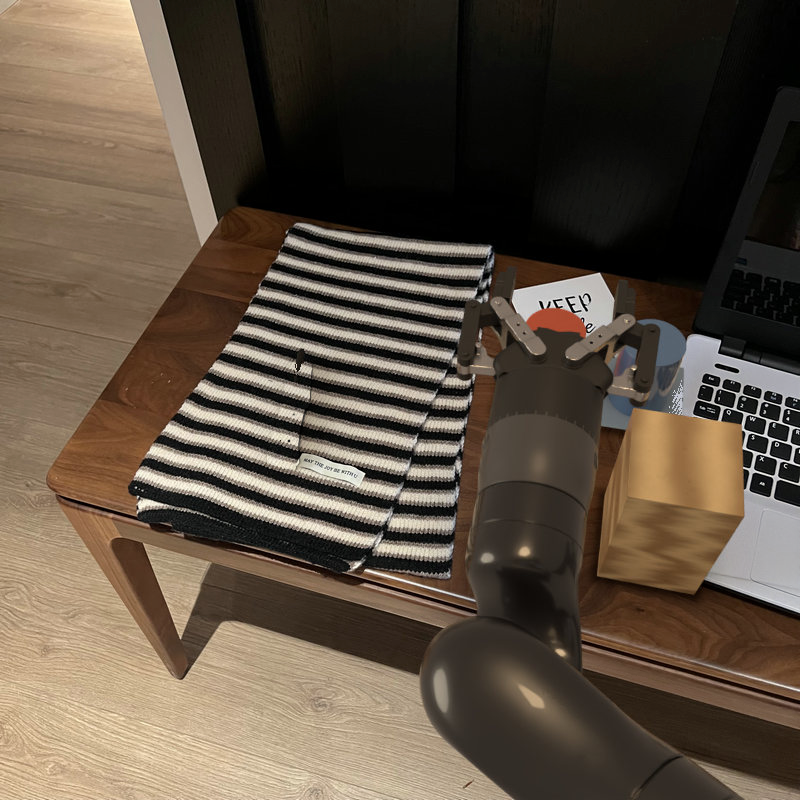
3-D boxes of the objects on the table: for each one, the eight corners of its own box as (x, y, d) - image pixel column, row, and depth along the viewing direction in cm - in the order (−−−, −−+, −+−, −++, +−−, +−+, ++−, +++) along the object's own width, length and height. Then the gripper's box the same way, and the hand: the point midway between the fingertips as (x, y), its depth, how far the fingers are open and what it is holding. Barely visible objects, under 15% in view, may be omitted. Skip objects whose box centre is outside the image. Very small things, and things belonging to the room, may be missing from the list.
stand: (693, 515, 79) (742, 424, 66) (692, 597, 73) (744, 516, 61) (603, 499, 80) (633, 407, 67) (596, 578, 75) (627, 496, 62)
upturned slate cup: (667, 377, 88) (687, 323, 81) (665, 422, 84) (686, 370, 77) (609, 368, 89) (624, 315, 82) (605, 413, 85) (620, 360, 78)
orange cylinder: (579, 367, 89) (590, 313, 82) (569, 410, 86) (581, 358, 79) (524, 356, 91) (531, 302, 84) (512, 398, 87) (518, 346, 80)
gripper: (436, 462, 56) (475, 301, 65) (638, 498, 53) (649, 325, 63) (434, 401, 50) (478, 233, 59) (662, 437, 47) (671, 256, 57)
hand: (566, 280), depth 61 cm, fingers open, 8 cm apart
